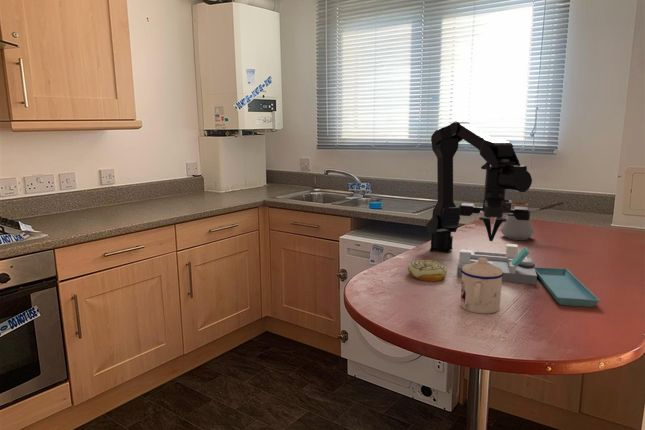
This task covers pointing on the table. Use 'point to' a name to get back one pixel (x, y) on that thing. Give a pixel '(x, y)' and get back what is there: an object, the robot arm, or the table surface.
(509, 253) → the cream slider
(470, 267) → the teacup with lid
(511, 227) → the coffee pot
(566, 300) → the rectangular tray
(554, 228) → the table surface
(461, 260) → the grey slider
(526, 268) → the panel
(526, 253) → the paddle lever
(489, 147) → the robot arm
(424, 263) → the decorated donut
